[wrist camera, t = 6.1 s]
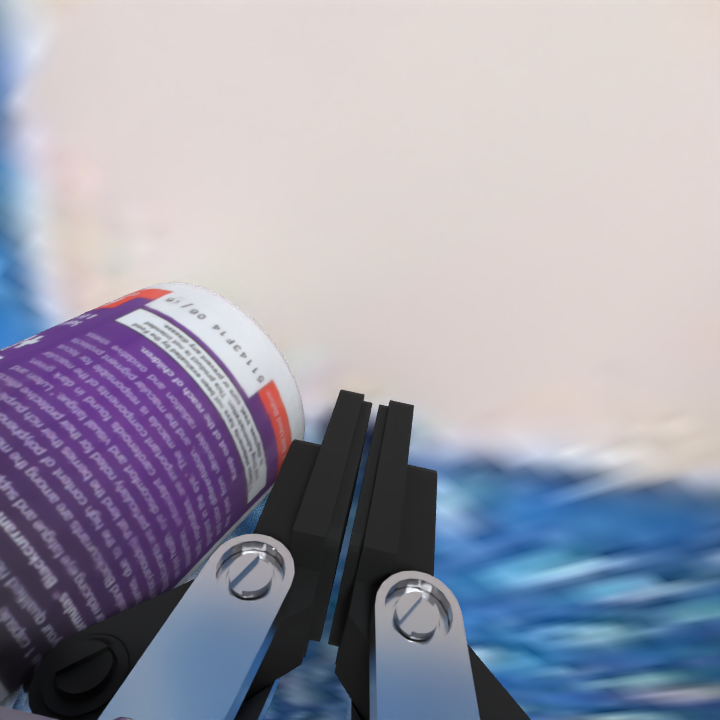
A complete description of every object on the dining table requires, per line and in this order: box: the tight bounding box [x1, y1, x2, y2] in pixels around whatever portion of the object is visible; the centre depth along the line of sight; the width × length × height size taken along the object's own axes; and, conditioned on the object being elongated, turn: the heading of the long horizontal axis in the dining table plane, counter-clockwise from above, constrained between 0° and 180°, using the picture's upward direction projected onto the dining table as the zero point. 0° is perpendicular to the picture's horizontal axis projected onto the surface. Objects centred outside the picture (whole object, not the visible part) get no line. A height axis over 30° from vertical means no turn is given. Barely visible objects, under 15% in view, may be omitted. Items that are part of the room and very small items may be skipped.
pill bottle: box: [0, 282, 305, 701], centre depth 8 cm, size 5×5×10 cm
